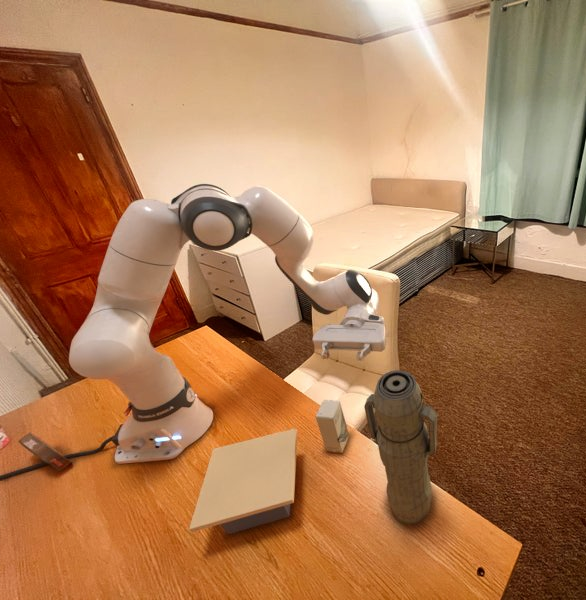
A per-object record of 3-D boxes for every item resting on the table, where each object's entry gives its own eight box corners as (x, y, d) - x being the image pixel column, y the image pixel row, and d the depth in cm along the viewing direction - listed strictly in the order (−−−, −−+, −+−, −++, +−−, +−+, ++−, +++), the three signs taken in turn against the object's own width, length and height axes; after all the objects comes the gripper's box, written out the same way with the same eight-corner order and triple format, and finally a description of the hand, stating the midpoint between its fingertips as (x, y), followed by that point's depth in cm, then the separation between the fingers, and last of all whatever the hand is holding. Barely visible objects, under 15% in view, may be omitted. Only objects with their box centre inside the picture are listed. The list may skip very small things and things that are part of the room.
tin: (77, 466, 77) (55, 446, 73) (62, 478, 75) (38, 458, 71) (50, 445, 83) (28, 425, 79) (35, 456, 81) (11, 436, 77)
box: (342, 453, 75) (332, 419, 68) (325, 451, 75) (314, 417, 69) (349, 434, 79) (340, 400, 72) (333, 432, 80) (323, 398, 73)
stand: (209, 551, 60) (188, 529, 55) (228, 471, 73) (213, 448, 68) (304, 522, 63) (292, 499, 58) (305, 451, 76) (296, 427, 71)
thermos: (437, 530, 60) (433, 411, 41) (378, 519, 62) (349, 402, 44) (440, 483, 67) (438, 364, 49) (388, 475, 69) (367, 359, 51)
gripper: (320, 316, 90) (300, 347, 79) (388, 317, 86) (378, 350, 75) (325, 333, 93) (306, 365, 82) (391, 334, 90) (381, 368, 78)
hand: (341, 358), depth 78 cm, fingers open, 8 cm apart
